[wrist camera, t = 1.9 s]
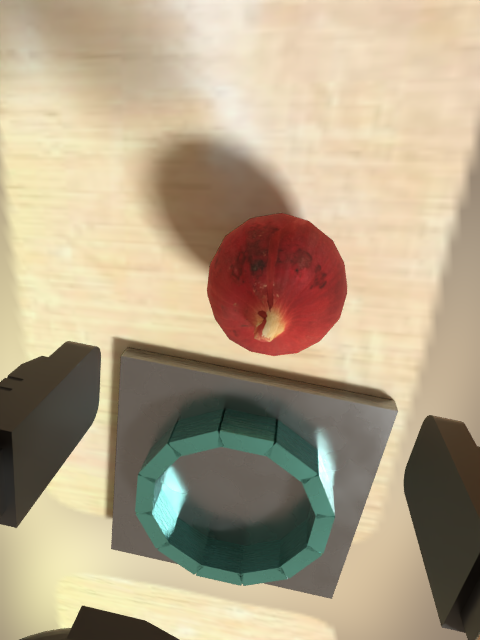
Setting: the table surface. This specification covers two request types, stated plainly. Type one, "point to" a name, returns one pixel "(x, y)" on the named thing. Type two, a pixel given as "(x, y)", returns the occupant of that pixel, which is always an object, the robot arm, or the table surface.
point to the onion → (277, 284)
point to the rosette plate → (242, 471)
